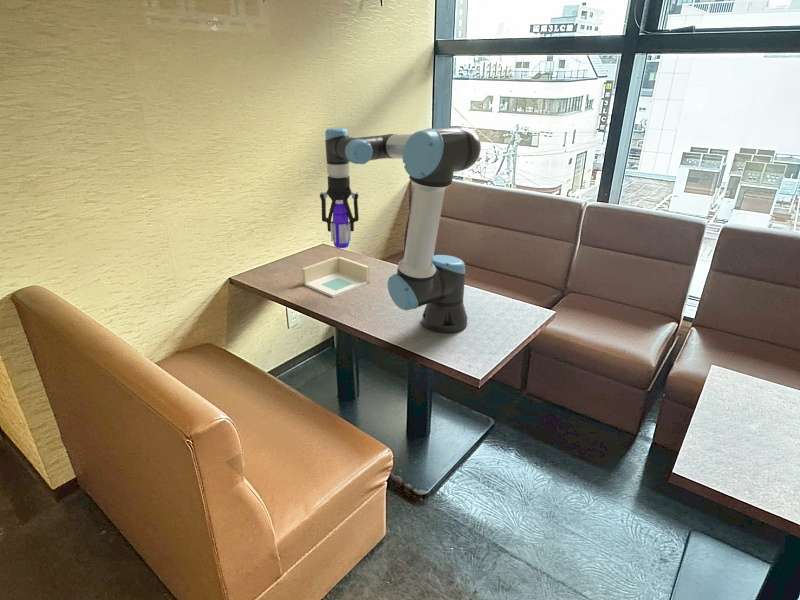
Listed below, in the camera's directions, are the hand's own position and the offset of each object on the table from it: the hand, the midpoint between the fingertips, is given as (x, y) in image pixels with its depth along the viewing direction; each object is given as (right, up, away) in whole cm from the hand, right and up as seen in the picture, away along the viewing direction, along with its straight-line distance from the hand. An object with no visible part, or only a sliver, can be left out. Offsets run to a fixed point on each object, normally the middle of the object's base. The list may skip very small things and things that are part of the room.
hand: (341, 239), depth 183 cm
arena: (-4, -16, +17) cm, 23 cm away
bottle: (0, -2, +1) cm, 3 cm away
